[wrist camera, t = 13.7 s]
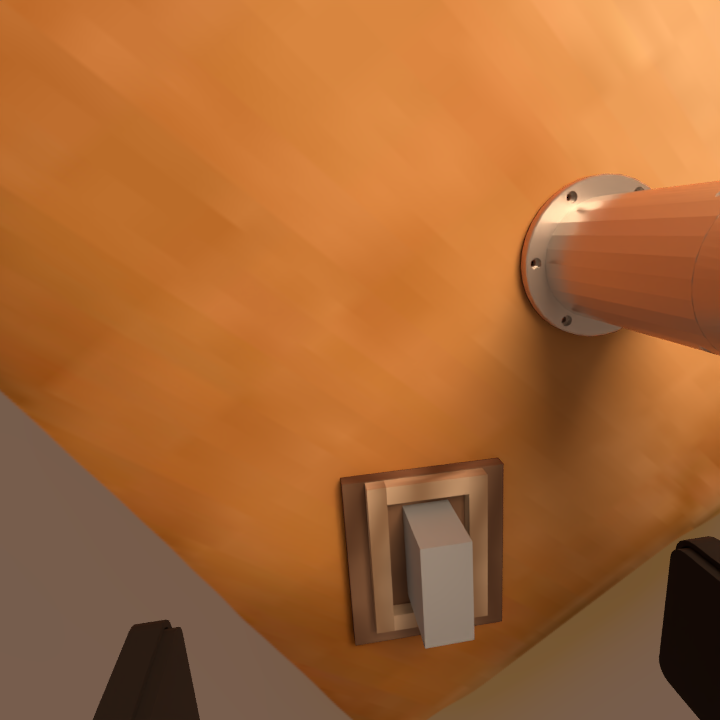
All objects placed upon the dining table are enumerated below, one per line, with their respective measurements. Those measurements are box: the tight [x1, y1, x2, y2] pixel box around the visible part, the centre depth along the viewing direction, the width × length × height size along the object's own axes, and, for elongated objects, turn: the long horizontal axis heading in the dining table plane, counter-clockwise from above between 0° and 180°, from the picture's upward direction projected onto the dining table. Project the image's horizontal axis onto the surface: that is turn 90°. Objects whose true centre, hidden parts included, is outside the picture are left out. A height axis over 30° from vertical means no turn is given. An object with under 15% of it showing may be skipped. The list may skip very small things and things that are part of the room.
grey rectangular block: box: [402, 499, 474, 648], centre depth 40 cm, size 4×9×6 cm, turn 5°
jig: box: [341, 458, 503, 645], centre depth 43 cm, size 14×16×2 cm
